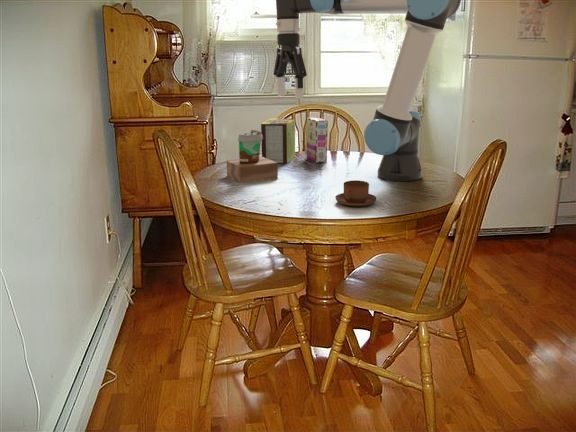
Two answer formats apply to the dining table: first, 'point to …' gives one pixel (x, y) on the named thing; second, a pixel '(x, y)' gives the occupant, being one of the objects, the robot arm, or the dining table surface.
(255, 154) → the food container
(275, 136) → the protein box
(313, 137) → the candy bar box
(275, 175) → the walnut block
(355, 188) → the cup and saucer
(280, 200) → the dining table surface
